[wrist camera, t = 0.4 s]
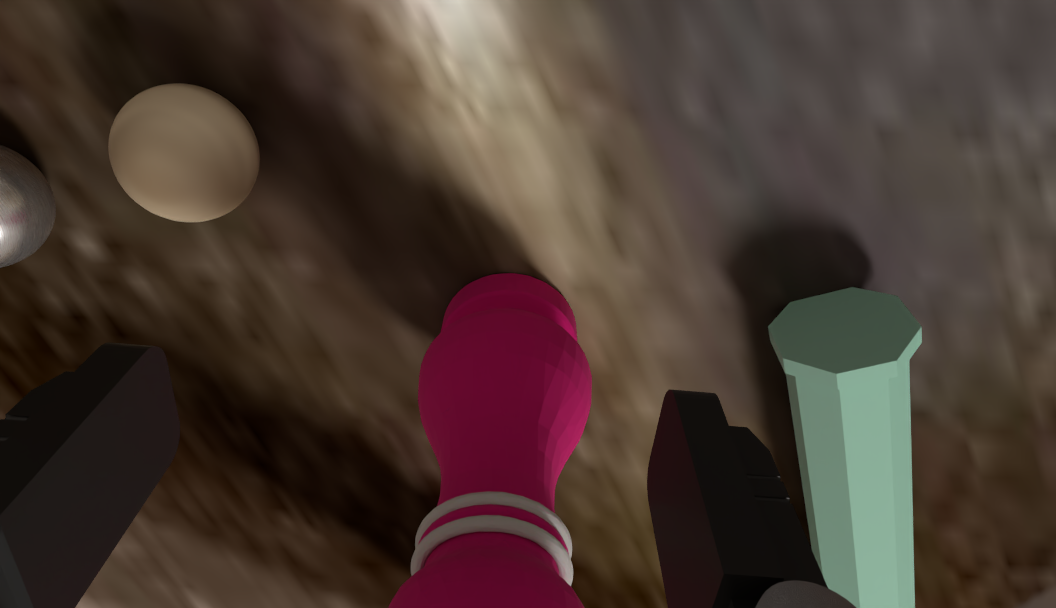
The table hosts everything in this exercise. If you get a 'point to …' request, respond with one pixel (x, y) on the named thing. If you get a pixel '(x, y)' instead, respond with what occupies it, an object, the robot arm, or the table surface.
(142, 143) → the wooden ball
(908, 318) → the mint green faceted rod
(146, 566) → the table surface
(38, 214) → the steel ball
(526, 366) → the pepper mill
